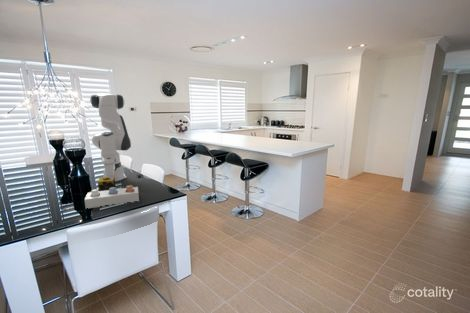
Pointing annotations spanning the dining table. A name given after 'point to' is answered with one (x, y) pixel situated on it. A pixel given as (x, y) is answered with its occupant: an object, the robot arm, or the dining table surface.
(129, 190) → the key rust
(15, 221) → the dining table surface
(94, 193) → the key white
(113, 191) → the key blue
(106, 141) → the robot arm
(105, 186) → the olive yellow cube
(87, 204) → the console
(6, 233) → the dining table surface
